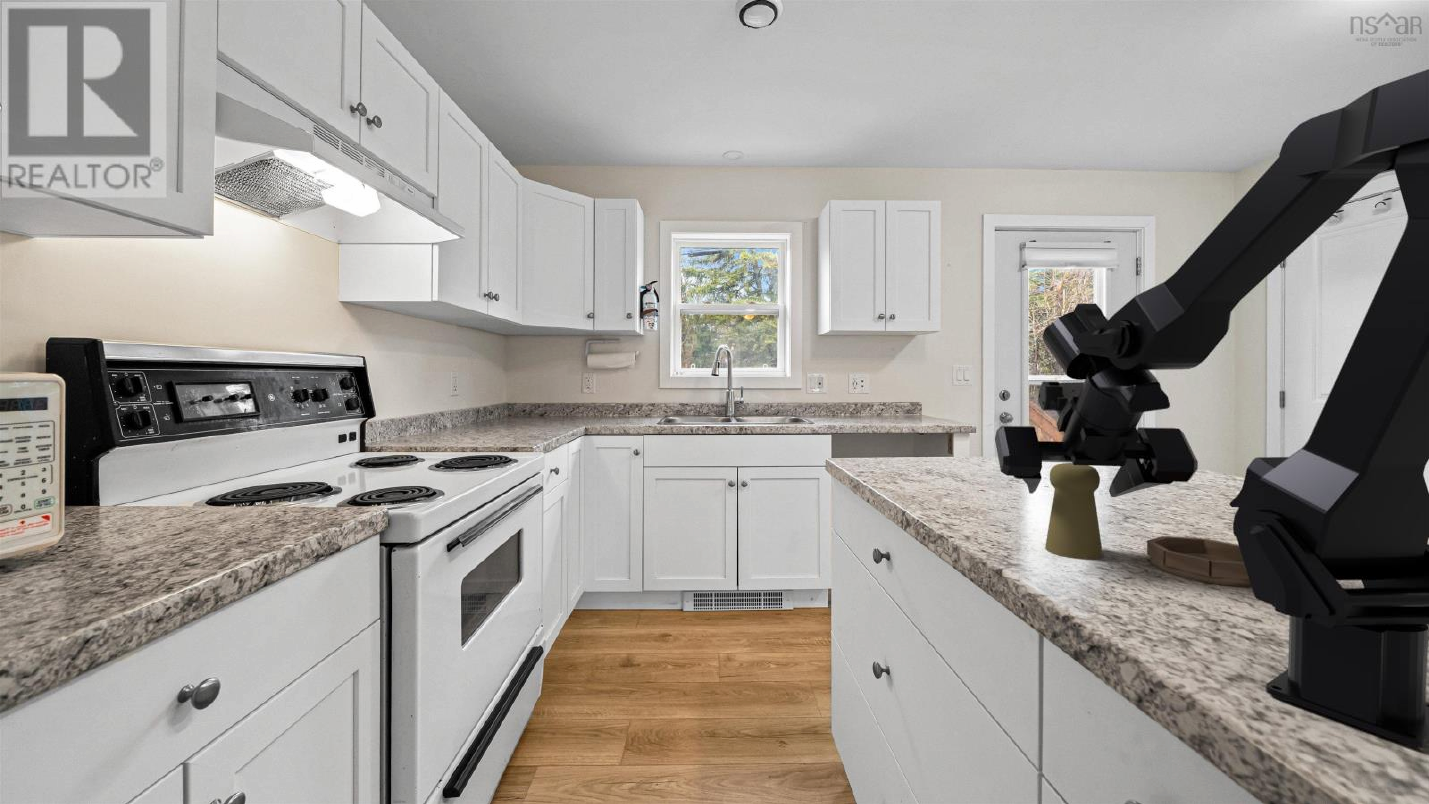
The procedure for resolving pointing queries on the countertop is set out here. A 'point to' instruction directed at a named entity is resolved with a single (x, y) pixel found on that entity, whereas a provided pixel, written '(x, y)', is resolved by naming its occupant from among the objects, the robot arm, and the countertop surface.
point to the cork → (1074, 512)
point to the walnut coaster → (1199, 560)
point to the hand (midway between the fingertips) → (1070, 492)
